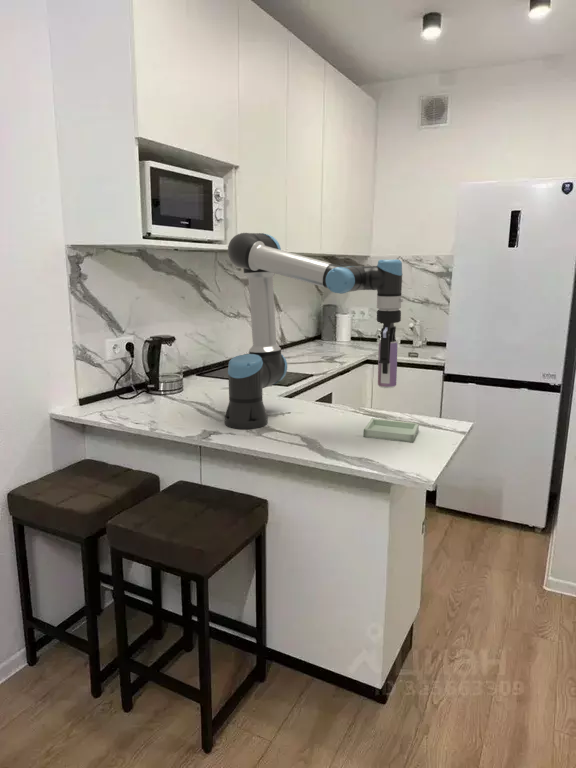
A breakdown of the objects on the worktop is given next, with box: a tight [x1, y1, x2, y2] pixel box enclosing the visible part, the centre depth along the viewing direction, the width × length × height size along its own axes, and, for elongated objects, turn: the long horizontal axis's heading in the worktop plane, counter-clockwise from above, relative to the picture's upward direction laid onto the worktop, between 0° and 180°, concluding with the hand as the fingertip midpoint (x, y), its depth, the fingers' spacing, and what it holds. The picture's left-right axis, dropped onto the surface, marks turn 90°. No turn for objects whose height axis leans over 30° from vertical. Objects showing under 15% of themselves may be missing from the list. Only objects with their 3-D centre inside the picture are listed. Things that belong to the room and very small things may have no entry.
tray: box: [363, 417, 420, 443], centre depth 183 cm, size 16×13×2 cm
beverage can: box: [377, 339, 398, 389], centre depth 178 cm, size 6×6×15 cm
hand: (387, 380), depth 179 cm, fingers closed on beverage can, 6 cm apart
